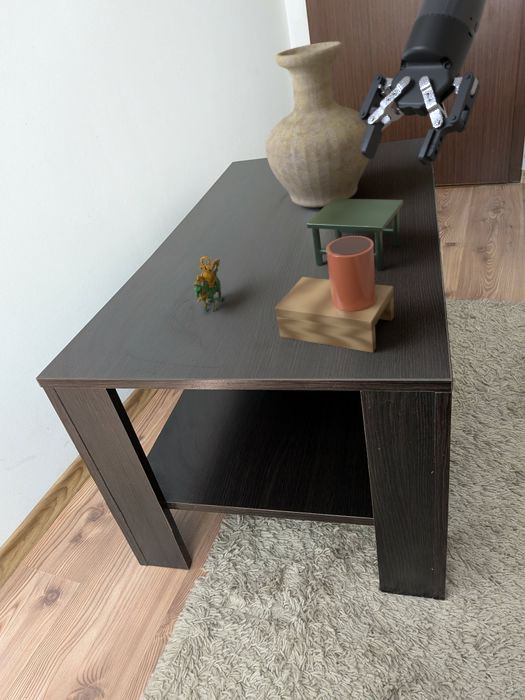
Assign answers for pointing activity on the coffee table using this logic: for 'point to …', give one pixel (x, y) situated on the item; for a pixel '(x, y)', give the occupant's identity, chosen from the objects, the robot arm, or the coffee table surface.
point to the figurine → (208, 283)
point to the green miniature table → (358, 222)
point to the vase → (316, 132)
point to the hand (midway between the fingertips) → (394, 159)
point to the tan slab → (331, 316)
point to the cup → (352, 273)
